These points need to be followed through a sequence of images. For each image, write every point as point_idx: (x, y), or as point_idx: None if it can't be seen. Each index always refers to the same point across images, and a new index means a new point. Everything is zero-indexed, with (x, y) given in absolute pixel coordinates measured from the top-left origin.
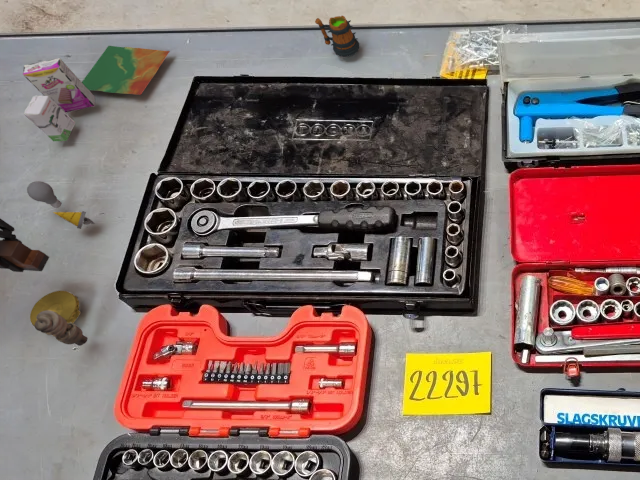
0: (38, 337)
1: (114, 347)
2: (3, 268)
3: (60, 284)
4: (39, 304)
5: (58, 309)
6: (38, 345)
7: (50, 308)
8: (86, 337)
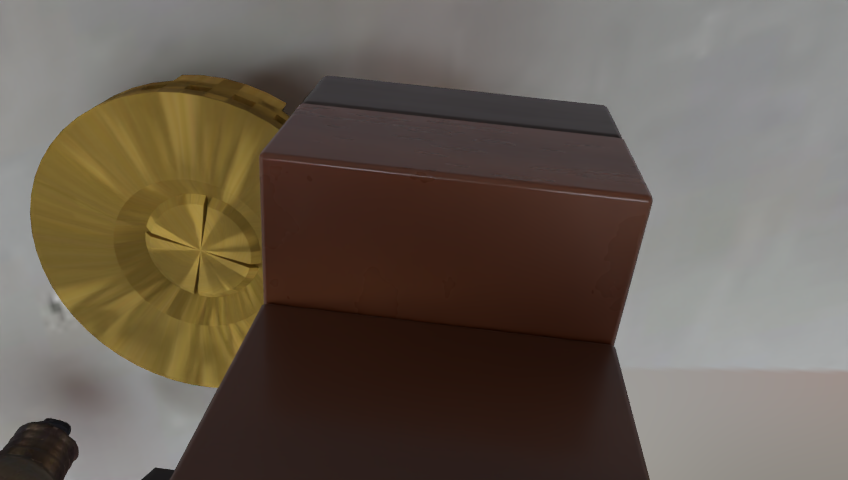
0: (67, 57)
1: (112, 474)
2: (158, 477)
3: (502, 61)
4: (224, 138)
5: (212, 275)
6: (14, 80)
7: (212, 217)
8: (68, 468)
